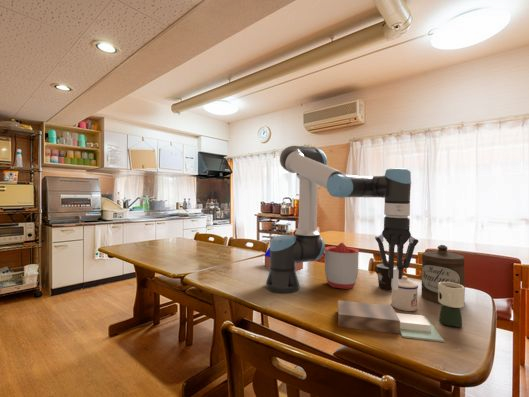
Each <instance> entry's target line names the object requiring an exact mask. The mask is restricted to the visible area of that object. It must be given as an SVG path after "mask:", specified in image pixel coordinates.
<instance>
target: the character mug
mask: <svg viewBox="0 0 529 397" xmlns="http://www.w3.org/2000/svg"><path fill="white" fill-rule="evenodd" d="M438 302H440V303H441V308H440V313H439V319H438V320H439V322H440V323H441V324H443V325H447V326H449V327H462V326H463V319H462V318H463V317H462V311H461V309H462V308H464V307H465V299H464V286H462V285H460V284H457V283H452V282H439V283H438ZM440 303H439V304H440Z"/></svg>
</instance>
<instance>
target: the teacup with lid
mask: <svg viewBox="0 0 529 397" xmlns="http://www.w3.org/2000/svg"><path fill="white" fill-rule="evenodd" d="M418 289H419V284H418V283H417V282H414V281H413V280H411V279H409V278H408V276H406V275H402V279H398V290H393V289H392V291H391V305H392V307H393V308H395V309H396V310H400V311H404V312H415V311H417V310H418Z"/></svg>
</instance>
